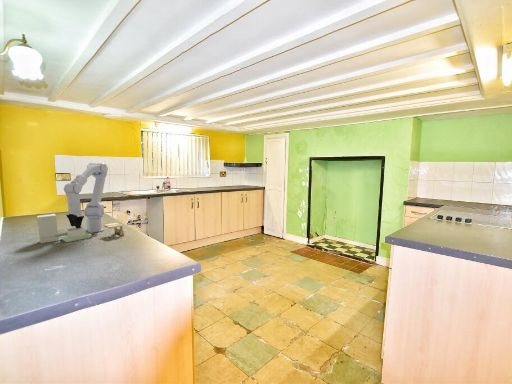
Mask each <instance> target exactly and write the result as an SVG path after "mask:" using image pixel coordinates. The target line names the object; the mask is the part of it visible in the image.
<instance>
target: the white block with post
mask: <svg viewBox="0 0 512 384" xmlns="http://www.w3.org/2000/svg"><path fill="white" fill-rule="evenodd" d="M85 230H86V229H85V228H84V227H82V226H81V228H78V229H76V227H75V228H74V227H72V228H66V229H65V232H64V233H63V232H62V233H58V234H55V237H58V238H59V237H61V236H65V235H66V238H73V237H78V236H83V235H85V232H86V231H85Z"/></svg>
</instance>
